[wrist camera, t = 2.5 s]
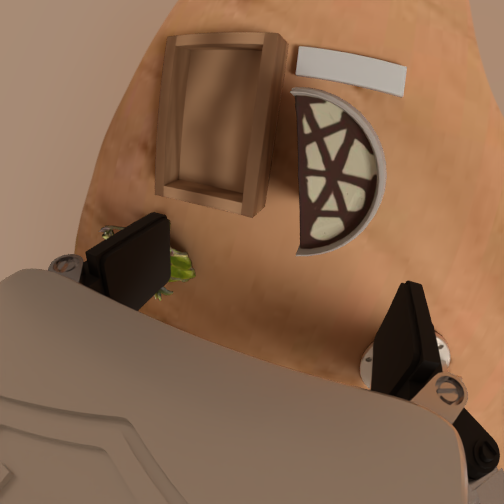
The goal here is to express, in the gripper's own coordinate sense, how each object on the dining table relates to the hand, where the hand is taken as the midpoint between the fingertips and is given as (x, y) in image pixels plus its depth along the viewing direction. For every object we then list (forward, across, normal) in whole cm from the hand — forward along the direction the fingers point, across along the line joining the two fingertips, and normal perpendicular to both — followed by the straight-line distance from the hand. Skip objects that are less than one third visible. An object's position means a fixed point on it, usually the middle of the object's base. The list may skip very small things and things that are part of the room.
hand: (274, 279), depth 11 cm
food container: (+20, -2, -2) cm, 20 cm away
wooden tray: (+20, +11, -4) cm, 23 cm away
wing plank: (+20, -1, -11) cm, 23 cm away
